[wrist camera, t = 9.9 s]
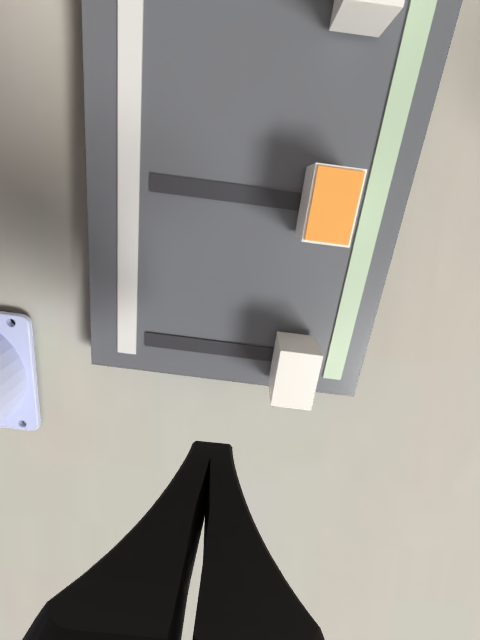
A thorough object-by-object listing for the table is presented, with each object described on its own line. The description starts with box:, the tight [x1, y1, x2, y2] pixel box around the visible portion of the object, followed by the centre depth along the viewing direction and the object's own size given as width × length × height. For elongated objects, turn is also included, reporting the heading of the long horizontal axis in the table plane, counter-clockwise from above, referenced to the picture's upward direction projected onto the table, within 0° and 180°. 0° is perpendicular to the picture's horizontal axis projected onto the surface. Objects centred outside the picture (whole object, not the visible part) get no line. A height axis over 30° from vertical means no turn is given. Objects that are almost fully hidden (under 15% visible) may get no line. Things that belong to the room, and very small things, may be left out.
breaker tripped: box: [295, 163, 368, 248], centre depth 15 cm, size 2×3×2 cm, turn 173°
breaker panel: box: [81, 0, 462, 397], centre depth 17 cm, size 15×20×2 cm
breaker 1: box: [269, 331, 323, 411], centre depth 18 cm, size 2×3×2 cm, turn 173°
